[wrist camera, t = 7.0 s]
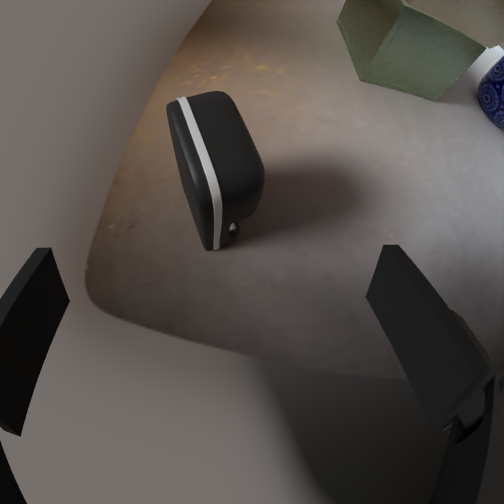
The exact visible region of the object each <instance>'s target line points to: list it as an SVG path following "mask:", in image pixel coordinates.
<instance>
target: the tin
mask: <svg viewBox="0 0 504 504" xmlns="http://www.w3.org/2000/svg"><path fill="white" fill-rule="evenodd" d="M337 24H338V26H339V28H340V31H341V33H342V35H343V38H344V40H345V43H346V45H347V48H348V50H349V53H350V55H351V58H352V60H353V63H354V66H355V68H356V71H357V74H358V77H359V80H360V81H365V82H369V83H373V84H377V85H381V86H385V87H389V88H393V89H396V90H400V91H403V92H407V93H410V94H413V95H417V96H420V97H423V98H426V99H429V100H432V101H435V102H436V101H437V100H438V99H439V98H440V97H441V96H442V95H443V94H444V93H445V92H446V91H447V90H448V89H449V88H450V87H451V86H452V85H453V84H454V83H455V81H456V80H457V79H458V78H459V77H460V76H461V75H462V74H463V73H464V72H465V71H466V70H467V69H468V68H469V67H470V66H471V65H472V64H473V62H474V61H475V60H476V59H477V58H478V57H479V56H480V55H481V54H482V53H483V52H484V51H485V50H486V46H485V45H483V44H482V43H480V42H479V41H477V40H475V39H474V38H472V37H470V36H469V35H467V34H465V33H464V32H462V31H460V30H458V29H457V28H455V27H453V26H451V25H449V24H447V23H446V22H444V21H442V20H440V19H438V18H436V17H434V16H432V15H430V14H427V13H425V12H423V11H421V10H419V9H416V8H414V7H412V6H410V5H408V3H407V0H346V1H345V4H344V6H343V8H342V11H341V13H340V15H339V17H338V20H337Z"/></svg>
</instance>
